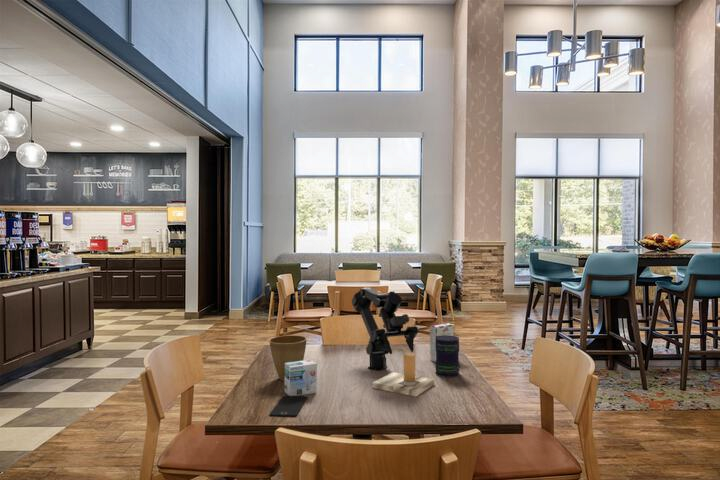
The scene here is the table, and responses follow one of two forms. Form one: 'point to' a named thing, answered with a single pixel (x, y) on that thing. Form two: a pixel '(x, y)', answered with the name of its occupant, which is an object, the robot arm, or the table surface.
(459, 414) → the table surface
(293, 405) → the cell phone
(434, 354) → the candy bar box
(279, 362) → the plant pot
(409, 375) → the orange rounded cylinder
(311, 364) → the light bulb box
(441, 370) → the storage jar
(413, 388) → the subfloor panel
